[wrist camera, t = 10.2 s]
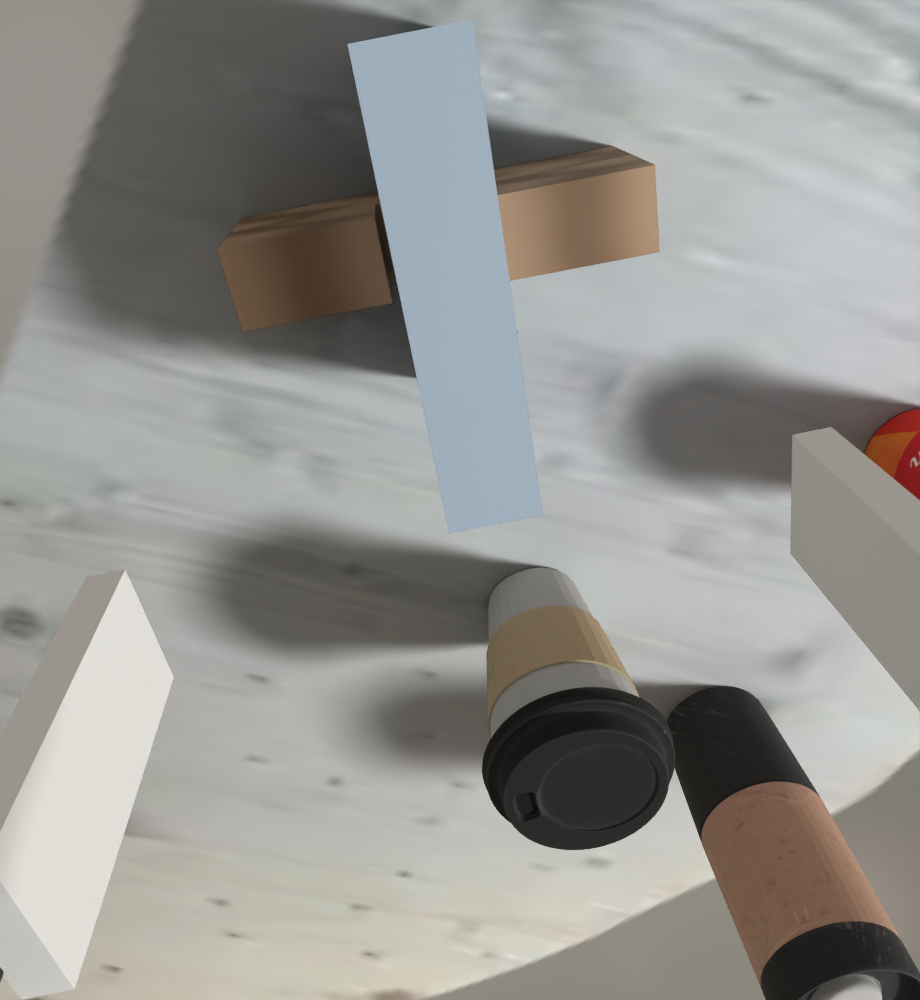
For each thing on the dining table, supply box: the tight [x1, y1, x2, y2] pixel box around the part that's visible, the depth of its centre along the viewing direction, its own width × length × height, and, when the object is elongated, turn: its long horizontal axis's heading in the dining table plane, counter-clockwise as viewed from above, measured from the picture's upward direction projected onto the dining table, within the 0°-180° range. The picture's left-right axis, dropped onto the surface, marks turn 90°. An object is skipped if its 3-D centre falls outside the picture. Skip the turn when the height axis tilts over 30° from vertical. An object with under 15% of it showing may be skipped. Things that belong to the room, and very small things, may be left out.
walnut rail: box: [217, 146, 659, 332], centre depth 38 cm, size 18×4×7 cm, turn 100°
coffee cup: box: [482, 568, 675, 850], centre depth 46 cm, size 9×9×15 cm
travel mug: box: [667, 687, 920, 1000], centre depth 50 cm, size 8×8×20 cm
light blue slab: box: [347, 19, 543, 533], centre depth 34 cm, size 4×16×16 cm, turn 10°
